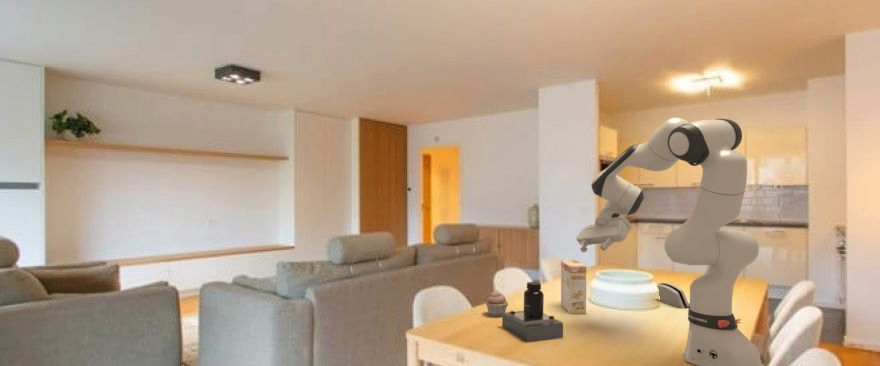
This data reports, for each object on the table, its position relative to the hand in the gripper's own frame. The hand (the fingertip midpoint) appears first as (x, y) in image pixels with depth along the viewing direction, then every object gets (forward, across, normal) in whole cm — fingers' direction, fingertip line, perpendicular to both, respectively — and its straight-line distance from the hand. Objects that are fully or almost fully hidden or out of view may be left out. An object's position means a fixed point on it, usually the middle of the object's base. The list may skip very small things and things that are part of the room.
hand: (592, 250), depth 169 cm
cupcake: (+28, -39, +5) cm, 48 cm away
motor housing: (+32, -17, +6) cm, 37 cm away
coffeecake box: (+4, -30, +28) cm, 41 cm away
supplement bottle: (+29, -13, +2) cm, 32 cm away
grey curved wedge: (-26, -15, +60) cm, 67 cm away
